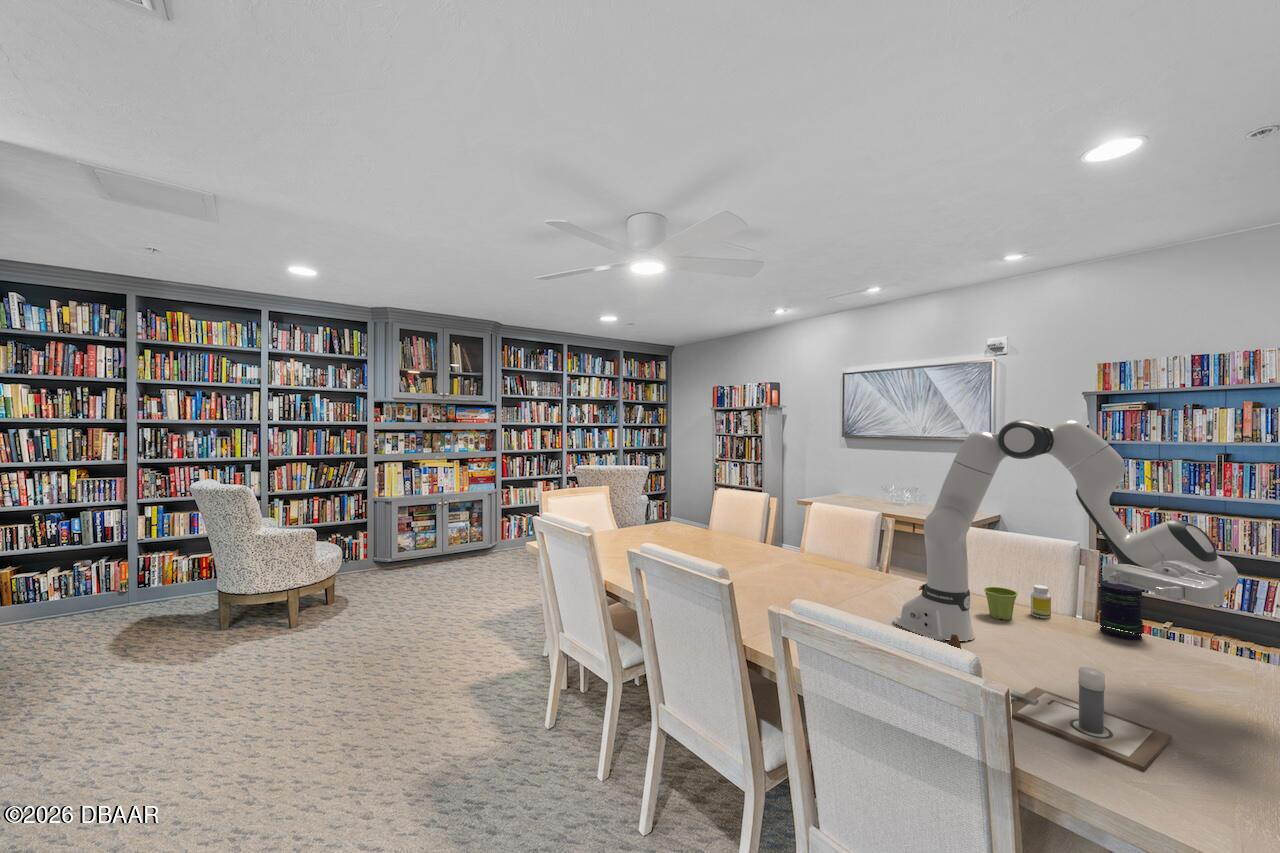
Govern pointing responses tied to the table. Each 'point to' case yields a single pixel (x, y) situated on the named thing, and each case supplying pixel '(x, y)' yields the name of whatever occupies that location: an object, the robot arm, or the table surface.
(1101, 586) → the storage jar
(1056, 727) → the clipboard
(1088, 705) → the marker
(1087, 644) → the table surface
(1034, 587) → the supplement bottle
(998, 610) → the plant pot
